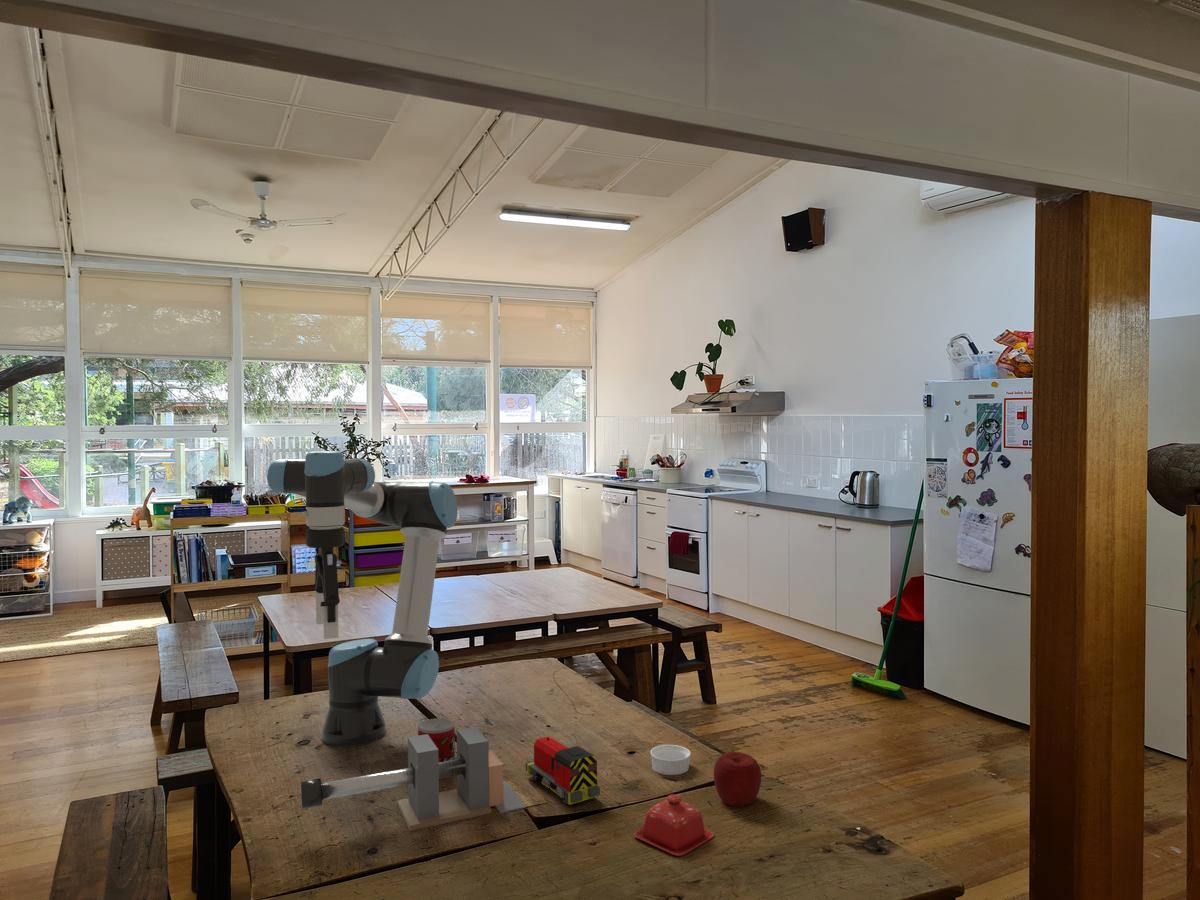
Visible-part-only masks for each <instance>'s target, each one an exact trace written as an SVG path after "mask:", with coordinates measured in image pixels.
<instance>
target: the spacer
mask: <svg viewBox="0 0 1200 900" xmlns="http://www.w3.org/2000/svg"><path fill="white" fill-rule="evenodd" d="M503 780H504V763H503V762H502V761H501V760H500V758H498V756H497V755H496V754H495V753H494V752H493V751H492V750H489V807H490V808H491V807H495V806H496V805H501V804H504V786H503Z"/></svg>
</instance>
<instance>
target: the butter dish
mask: <svg viewBox="0 0 1200 900" xmlns="http://www.w3.org/2000/svg"><path fill="white" fill-rule="evenodd" d="M644 818H645V819H644V823H643V827H642V828H640V829H639V830H636V832H634V833H633V836H634V837H635V838H636V839H638V840H640V841H643V842H645V843H647V844H649V845H650V846H651V845H652V846H654V847H655V848H658V849H659V850H661V851H664V852H665V853H666V852H667V853H668V854H670V855H673V856H675V857H683V856H684V855H686V854H688V853H690V852H691V851H693V850H695V849H696V848H698V847H700V846H701V845H703V844H705V843H707V842H708V841H709V840H711V839H713V838H715V833H713V832H712V831H710V830H708V829H706V828H705V825H704V824H705V823H704V819H703V815H702V813H701V811H700V810H699V809H698V808H696V807H694V806H693V805H692V804H689V803H688V802H686V801H683V800H682V797H681V796H680V795H679V794H669V795H668V796H667V798H666V799H665V800H662V801H660V802H658V803H656V804H654V805H653V806H651V807H650V808H649V809H648V810H647V812H646V815H645V817H644Z"/></svg>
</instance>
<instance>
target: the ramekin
mask: <svg viewBox="0 0 1200 900" xmlns="http://www.w3.org/2000/svg"><path fill="white" fill-rule="evenodd" d="M691 755H692V752H691V751H690V750H689V749H688V748H686V747H684V746H682V745H676V744H660V745H657V746H655V747H653V748H651V750H650V757H651V767H652V770H653V771H654V772H655V773H658V774H661V775H667V776H676V775H681V774H684V773H687V772H688V771H689V767H690V760H691Z"/></svg>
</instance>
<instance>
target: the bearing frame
mask: <svg viewBox="0 0 1200 900" xmlns="http://www.w3.org/2000/svg"><path fill="white" fill-rule="evenodd" d="M489 751H490V750H489V740H488V739H487V737H485V735H484V734H483V733H482V732H481V730H480V729H479V728H478V727H476V726H470V727H464V728H458V729H456V759H462V758H464V759H465V764H466V774H462V775H457V776H456V778H457V779H456V780H457V781H456V785H457V787H456V788H454V789H449V790H444V791H440V786H439V784H440V783H439V782H440V779H439V762H438V748H437V747H436V745H435V744H434V743H433V741H432V740H431V738H430V737H429V735H428V734H425V735H419V736H418V735H414V736H408V737H407V768H411V767H414V768H415V783H413V784H408V787H407V788H408V792H407V793H408V798H407V797H406V798H403V799H402V798H401V799H397V801H396V806H397V808H398V809H399V812H400V814H401V816H402V818H403V821H404V822H405V824H406V826H407V828H408V830H409V832H410V831H415V830H419V829H423V828H428V827H434V826H438V825H443V824H448V823H452V822H456V821H457V822H458V821H461V820H466V819H470V818H475V817H479V816H486V815H488V814H492V808H491V807H489Z"/></svg>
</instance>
